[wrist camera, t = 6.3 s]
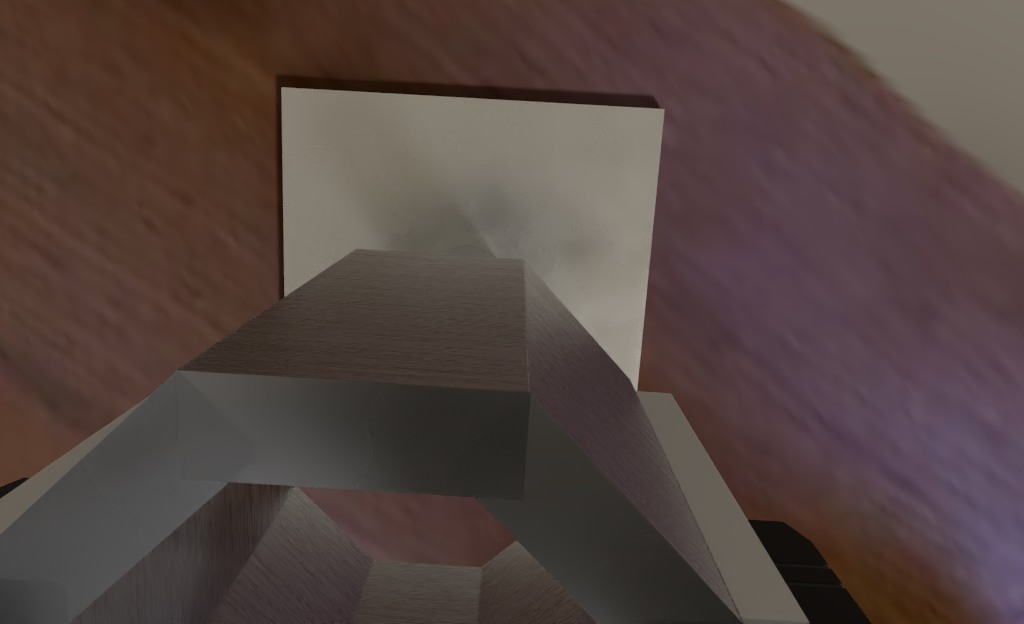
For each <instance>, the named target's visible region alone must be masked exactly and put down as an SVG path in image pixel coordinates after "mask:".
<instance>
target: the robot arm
mask: <svg viewBox="0 0 1024 624" xmlns="http://www.w3.org/2000/svg"><path fill="white" fill-rule="evenodd" d="M636 393H637V395H638V397H639V399H640V402H641V404H642V406H643V408H644V410H645V412H646V414H647V417H648V419H649V421H650V423H651V425H652V427H653V429H654V432H655V434H656V436H657V438H658V440H659V442H660V445H661V447H662V449H663V451H664V453H665V455H666V457H667V460H668V462H669V464H670V466H671V468H672V470H673V472H674V475H675V477H676V479H677V481H678V483H679V485H680V487H681V490H682V492H683V494H684V496H685V498H686V500H687V502H688V505H689V507H690V509H691V511H692V513H693V515H694V517H695V520H696V522H697V524H698V526H699V528H700V530H701V532H702V535H703V537H704V539H705V541H706V543H707V545H708V548H709V550H710V552H711V554H712V556H713V558H714V560H715V563H716V565H717V567H718V569H719V571H720V573H721V575H722V578H723V580H724V582H725V584H726V586H727V588H728V590H729V593H730V595H731V597H732V599H733V601H734V603H735V605H736V608H737V610H738V612H739V614H740V616H741V618H742V620H743V623H744V624H871V622H870V621H869V620H868V618H867V617H866V616H865V614H864V613H863V611H862V610H861V609H860V607H859V606H858V605H857V603H856V602H855V600H854V599H853V598H852V596H851V595H850V594H849V592H848V591H847V590H846V589H844V588H842V583H841V581H840V580H839V579H838V577H837V576H836V575H835V573H834V572H833V570H832V569H828V564H827V562H826V561H825V560H824V558H823V557H822V555H821V554H820V553H819V551H818V550H817V549H816V547H815V546H814V545H813V543H812V542H811V541H810V540H808V539H807V538H805V537H804V536H803V535H801V534H800V533H798V532H797V531H795V530H794V529H793V528H791V527H790V526H788V525H787V524H786V523H784V522H778V521H761V520H747V518H746V517H745V515H744V513H743V512H742V510H741V508H740V507H739V505H738V504H737V502H736V500H735V499H734V497H733V495H732V494H731V492H730V490H729V489H728V487H727V485H726V484H725V482H724V480H723V479H722V477H721V475H720V474H719V472H718V470H717V469H716V467H715V466H714V464H713V462H712V461H711V459H710V457H709V456H708V454H707V452H706V451H705V449H704V447H703V446H702V444H701V442H700V441H699V439H698V437H697V436H696V434H695V432H694V431H693V429H692V428H691V426H690V424H689V423H688V421H687V419H686V418H685V416H684V414H683V413H682V411H681V409H680V408H679V406H678V404H677V403H676V401H675V399H674V398H673V396H672V395H671V394H670V393H654V392H638V391H636ZM148 397H149V396H148ZM148 397H147V398H148ZM147 398H146V399H147ZM146 399H144V400H143V401H141V402H140V403H138V404H137V405H135V406H134V407H132V408H131V409H130V410H128V411H127V412H125V413H124V414H122V415H121V416H119V417H118V418H117V419H115V420H114V421H112V422H111V423H109V424H108V425H106V426H105V427H104V428H102V429H101V430H99V431H98V432H96V433H95V434H93V435H92V436H90V437H89V438H88V439H86V440H85V441H83V442H82V443H80V444H79V445H77V446H76V447H75V448H73V449H72V450H70V451H69V452H67V453H66V454H64V455H63V456H61V457H60V458H59V459H57V460H56V461H54V462H53V463H51V464H50V465H48V466H47V467H46V468H44V469H43V470H41V471H40V472H38V473H37V474H35V475H34V476H33V477H31V478H22V479H20V480H17V481H15V482H12V483H10V484H7V485H5V486H2V487H0V534H2V533H3V532H4V531H5V530H6V529H7V528H8V527H9V526H10V525H11V524H12V523H13V522H14V521H15V520H17V519H18V518H19V517H20V516H21V515H22V514H23V513H24V512H25V511H26V510H27V509H28V508H29V507H31V506H32V505H33V504H34V503H35V502H36V501H37V500H38V499H39V498H40V497H41V496H42V495H43V494H45V493H46V492H47V491H48V490H49V489H50V488H51V487H52V486H53V485H54V484H55V483H56V482H57V481H59V480H60V479H61V478H62V477H63V476H64V475H65V474H66V473H67V472H68V471H69V470H70V469H71V468H73V467H74V466H75V465H76V464H77V463H78V462H79V461H80V460H81V459H82V458H83V457H84V456H85V455H87V454H88V453H89V452H90V451H91V450H92V449H93V448H94V447H95V446H96V445H97V444H98V443H99V442H101V441H102V440H103V439H104V438H105V437H106V436H107V435H108V434H109V433H110V432H111V431H112V430H113V429H115V428H116V427H117V426H118V425H119V424H120V423H121V422H122V421H123V420H124V419H125V418H126V417H127V416H129V415H130V414H131V413H132V412H133V411H134V410H135V409H136V408H137V407H138V406H139V405H140V404H141V403H143V402H144V401H145V400H146Z"/></svg>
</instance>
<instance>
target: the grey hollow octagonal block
mask: <svg viewBox="0 0 1024 624" xmlns="http://www.w3.org/2000/svg"><path fill="white" fill-rule="evenodd" d="M297 486H301V487H317V488H333V489H349V490H365V491H381V492H397V493H414V494H430V495H446V496H462V497H475V498H476V499H477V500H478V501H479V502H480V503H481V504H482V505H483V506H484V507H485V508H486V509H487V510H488V511H489V512H490V513H491V514H492V515H493V516H494V517H495V518H496V519H497V520H498V521H499V523H500V524H501V525H502V526H503V527H504V528H505V529H506V530H507V531H508V532H509V533H510V534H511V535H512V536H513V537H514V538H515V539H516V541H515V542H514V543H512V544H511V545H510V546H509V547H507V548H506V549H505V550H503V551H502V552H501V553H500V554H498V555H497V556H496V557H495V558H493V559H492V560H491V561H489V562H488V563H487V564H486V565H484V566H483V567H468V566H452V565H435V564H419V563H403V562H386V561H373V560H372V559H371V558H370V557H369V556H368V555H367V554H366V553H365V552H364V551H363V550H362V549H361V548H360V547H359V546H358V545H357V544H356V543H355V542H354V541H353V540H352V539H351V538H349V537H348V536H347V535H346V534H345V533H344V532H343V531H342V530H341V529H340V528H339V527H338V526H337V525H336V524H335V523H334V522H333V521H332V520H331V519H330V518H329V517H328V516H327V515H326V514H325V513H324V512H323V511H322V510H321V509H320V508H319V507H318V506H317V505H316V504H315V503H314V502H312V501H311V500H310V499H309V498H308V497H307V496H306V495H305V494H304V493H303V492H302V491H301V490H300V489H299V488H298V487H297ZM0 624H744V623H743V620H742V618H741V616H740V614H739V612H738V610H737V608H736V605H735V603H734V601H733V599H732V597H731V595H730V593H729V590H728V588H727V586H726V584H725V582H724V580H723V578H722V575H721V573H720V571H719V569H718V567H717V565H716V563H715V560H714V558H713V556H712V554H711V552H710V550H709V548H708V545H707V543H706V541H705V539H704V537H703V535H702V532H701V530H700V528H699V526H698V524H697V522H696V520H695V517H694V515H693V513H692V511H691V509H690V507H689V505H688V502H687V500H686V498H685V496H684V494H683V492H682V490H681V487H680V485H679V483H678V481H677V479H676V477H675V475H674V472H673V470H672V468H671V466H670V464H669V462H668V460H667V457H666V455H665V453H664V451H663V449H662V447H661V445H660V442H659V440H658V438H657V436H656V434H655V432H654V429H653V427H652V425H651V423H650V421H649V419H648V417H647V414H646V412H645V410H644V408H643V406H642V404H641V402H640V399H639V397H638V395H637V393H636V391H635V389H634V387H633V384H632V382H631V380H630V379H629V378H628V377H627V375H626V374H625V373H624V372H623V371H622V370H621V369H620V368H619V366H618V365H617V364H616V363H615V362H614V361H613V360H612V359H611V357H610V356H609V355H608V354H607V353H606V352H605V351H604V349H603V348H602V347H601V346H600V345H599V344H598V343H597V342H596V340H595V339H594V338H593V337H592V336H591V335H590V334H589V333H588V331H587V330H586V329H585V328H584V327H583V326H582V325H581V324H580V322H579V321H578V320H577V319H576V318H575V317H574V316H573V314H572V313H571V312H570V311H569V310H568V309H567V308H566V307H565V305H564V304H563V303H562V302H561V301H560V300H559V299H558V298H557V296H556V295H555V294H554V293H553V292H552V291H551V290H550V289H549V287H548V286H547V285H546V284H545V283H544V282H543V281H542V279H541V278H540V277H539V276H538V275H537V274H536V273H535V272H534V270H533V269H532V268H531V267H530V266H529V265H528V264H527V263H526V261H525V260H524V259H508V258H492V257H477V256H461V255H445V254H430V253H414V252H398V251H383V250H367V249H355V250H354V251H352V252H351V253H349V254H348V255H346V256H345V257H343V258H342V259H340V260H339V261H337V262H336V263H334V264H333V265H331V266H330V267H329V268H327V269H326V270H324V271H323V272H321V273H320V274H318V275H317V276H315V277H314V278H312V279H311V280H309V281H308V282H306V283H305V284H303V285H302V286H300V287H299V288H297V289H296V290H294V291H293V292H291V293H290V294H288V295H287V296H286V297H284V298H283V299H281V300H280V301H278V302H277V303H275V304H274V305H272V306H271V307H269V308H268V309H266V310H265V311H263V312H262V313H260V314H259V315H257V316H256V317H254V318H253V319H251V320H250V321H248V322H247V323H245V324H244V325H243V326H241V327H240V328H238V329H237V330H235V331H234V332H232V333H231V334H229V335H228V336H226V337H225V338H223V339H222V340H220V341H219V342H217V343H216V344H214V345H213V346H211V347H210V348H208V349H207V350H205V351H204V352H202V353H201V354H200V355H198V356H197V357H195V358H194V359H192V360H191V361H189V362H188V363H186V364H185V365H183V366H182V367H180V368H179V369H177V370H176V372H175V373H174V374H173V375H172V376H171V377H169V378H168V379H167V380H166V381H165V382H164V383H163V384H162V385H161V386H160V387H159V388H158V389H157V390H155V391H154V392H153V393H152V394H151V395H150V396H149V397H148V398H147V399H146V400H145V401H144V402H143V403H141V404H140V405H139V406H138V407H137V408H136V409H135V410H134V411H133V412H132V413H131V414H130V415H129V416H127V417H126V418H125V419H124V420H123V421H122V422H121V423H120V424H119V425H118V426H117V427H116V428H115V429H113V430H112V431H111V432H110V433H109V434H108V435H107V436H106V437H105V438H104V439H103V440H102V441H101V442H99V443H98V444H97V445H96V446H95V447H94V448H93V449H92V450H91V451H90V452H89V453H88V454H87V455H85V456H84V457H83V458H82V459H81V460H80V461H79V462H78V463H77V464H76V465H75V466H74V467H73V468H71V469H70V470H69V471H68V472H67V473H66V474H65V475H64V476H63V477H62V478H61V479H60V480H59V481H57V482H56V483H55V484H54V485H53V486H52V487H51V488H50V489H49V490H48V491H47V492H46V493H45V494H43V495H42V496H41V497H40V498H39V499H38V500H37V501H36V502H35V503H34V504H33V505H32V506H31V507H29V508H28V509H27V510H26V511H25V512H24V513H23V514H22V515H21V516H20V517H19V518H18V519H17V520H15V521H14V522H13V523H12V524H11V525H10V526H9V527H8V528H7V529H6V530H5V531H4V532H3V533H2V534H0Z"/></svg>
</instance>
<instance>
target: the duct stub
mask: <svg viewBox="0 0 1024 624" xmlns="http://www.w3.org/2000/svg"><path fill="white" fill-rule="evenodd" d="M281 97H282V166H283V234H284V297H286V296H287V295H288V294H290V293H291V292H293V291H294V290H296V289H297V288H299V287H300V286H302V285H303V284H305V283H306V282H308V281H309V280H311V279H312V278H314V277H315V276H317V275H318V274H320V273H321V272H323V271H324V270H326V269H327V268H329V267H330V266H331V265H333V264H334V263H336V262H337V261H339V260H340V259H342V258H343V257H345V256H346V255H348V254H349V253H351V252H352V251H354V250H355V249H367V250H383V251H398V252H414V253H430V254H445V255H461V256H477V257H492V258H508V259H524V260H525V261H526V263H527V264H528V265H529V266H530V267H531V268H532V269H533V270H534V272H535V273H536V274H537V275H538V276H539V277H540V278H541V279H542V281H543V282H544V283H545V284H546V285H547V286H548V287H549V289H550V290H551V291H552V292H553V293H554V294H555V295H556V296H557V298H558V299H559V300H560V301H561V302H562V303H563V304H564V305H565V307H566V308H567V309H568V310H569V311H570V312H571V313H572V314H573V316H574V317H575V318H576V319H577V320H578V321H579V322H580V324H581V325H582V326H583V327H584V328H585V329H586V330H587V331H588V333H589V334H590V335H591V336H592V337H593V338H594V339H595V340H596V342H597V343H598V344H599V345H600V346H601V347H602V348H603V349H604V351H605V352H606V353H607V354H608V355H609V356H610V357H611V359H612V360H613V361H614V362H615V363H616V364H617V365H618V366H619V368H620V369H621V370H622V371H623V372H624V373H625V374H626V375H627V377H628V378H629V379H630V380H631V382H632V384H633V387H634V389H635V391H637V386H638V376H639V365H640V355H641V345H642V335H643V325H644V314H645V304H646V294H647V284H648V273H649V263H650V253H651V243H652V232H653V222H654V212H655V202H656V191H657V181H658V171H659V161H660V150H661V140H662V130H663V120H664V109H654V108H637V107H619V106H602V105H584V104H567V103H549V102H532V101H514V100H497V99H479V98H462V97H444V96H427V95H409V94H392V93H374V92H357V91H339V90H321V89H304V88H286V87H281Z"/></svg>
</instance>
